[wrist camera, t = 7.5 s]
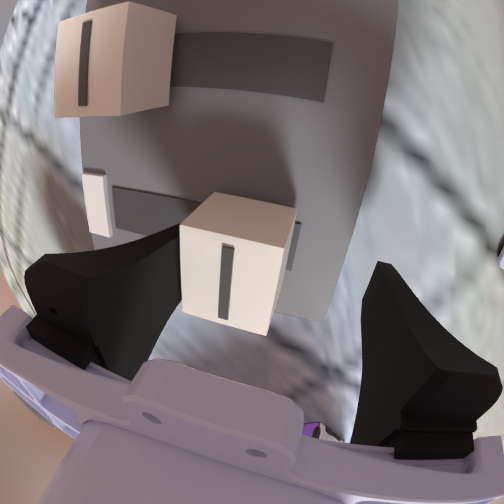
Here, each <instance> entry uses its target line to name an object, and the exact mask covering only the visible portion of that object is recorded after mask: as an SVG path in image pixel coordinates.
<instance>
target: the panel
mask: <svg viewBox="0 0 504 504" xmlns="http://www.w3.org/2000/svg"><path fill="white" fill-rule="evenodd" d="M128 1H130V2H134V3H137V4H141V5H145V6H149V7H152V8H155V9H159V10H162V11H165V12H168V13H172V14H175V15H177V18H176V26H175V35H174V44H173V54H172V65H171V78H170V92H169V106H163V107H158V108H153V109H149V110H144V111H139V112H135V113H131V114H126V115H122V116H84V117H80V138H81V154H82V167H83V174H82V181H83V190H84V198H85V205H86V212H87V219H88V225H89V231H90V232H91V235H92V241H93V246H94V250H98V249H103V248H108V247H113V246H117V245H121V244H125V243H128V242H132V241H135V240H138V239H141V238H143V237H146V236H149V235H151V234H154V233H157V232H159V231H162V230H164V229H167V228H169V227H171V226H174V225H176V224H179V223H181V222H183V221H184V220H185V219H186V218H187V217H188V216H189V215H190V214H191V213H192V212H193V211H194V210H196V209H197V208H198V207H199V206H200V205H201V204H202V203H203V202H204V201H205V200H206V199H207V198H208V197H209V196H211V195H212V194H213V193H214V192H218V193H223V194H229V195H234V196H239V197H244V198H249V199H254V200H259V201H264V202H268V203H273V204H278V205H282V206H287V207H292V208H296V209H297V214H296V219H295V224H294V229H293V234H292V239H291V244H290V249H289V254H288V259H287V264H286V269H285V273H284V278H283V283H282V287H281V291H280V294H279V297H278V300H277V304H276V307H275V310H274V312H278V313H282V314H286V315H290V316H294V317H298V318H302V319H307V320H311V321H315V322H320V323H323V320H324V318H325V315H326V312H327V309H328V307H329V304H330V301H331V298H332V295H333V293H334V290H335V287H336V284H337V281H338V278H339V275H340V272H341V269H342V266H343V263H344V260H345V256H346V253H347V250H348V247H349V244H350V240H351V237H352V234H353V230H354V227H355V224H356V220H357V217H358V213H359V209H360V206H361V202H362V198H363V195H364V191H365V187H366V183H367V179H368V175H369V171H370V167H371V163H372V159H373V155H374V150H375V146H376V141H377V137H378V132H379V127H380V123H381V118H382V113H383V107H384V102H385V97H386V91H387V85H388V79H389V73H390V66H391V59H392V52H393V45H394V37H395V28H396V18H397V7H398V0H87V6H86V13H87V12H90V11H94V10H97V9H101V8H104V7H108V6H112V5H116V4H120V3H124V2H128Z"/></svg>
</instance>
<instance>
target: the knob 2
mask: <svg viewBox="0 0 504 504" xmlns="http://www.w3.org/2000/svg"><path fill="white" fill-rule="evenodd" d="M296 214H297V209H296V208H292V207H287V206H282V205H278V204H273V203H268V202H264V201H259V200H254V199H249V198H244V197H239V196H234V195H229V194H223V193H218V192H214V193H213V194H212V195H211V196H209V197H208V198H207V199H206V200H205V201H204V202H203V203H202V204H201V205H200V206H199V207H198V208H197V209H196V210H194V211H193V212H192V213H191V214H190V215H189V216H188V217H187V218H186V219H185V220H184V221H183V222H182V223H181V224H180V264H181V290H182V309H183V312H184V313H187V314H190V315H194V316H197V317H200V318H203V319H207V320H210V321H213V322H217V323H220V324H224V325H227V326H231V327H234V328H238V329H242V330H245V331H249V332H253V333H257V334H260V335H264V336H266V335H267V332H268V329H269V326H270V323H271V320H272V317H273V313H274V310H275V307H276V304H277V300H278V297H279V294H280V291H281V287H282V283H283V278H284V273H285V269H286V264H287V259H288V254H289V249H290V244H291V239H292V234H293V229H294V224H295V219H296Z"/></svg>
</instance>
